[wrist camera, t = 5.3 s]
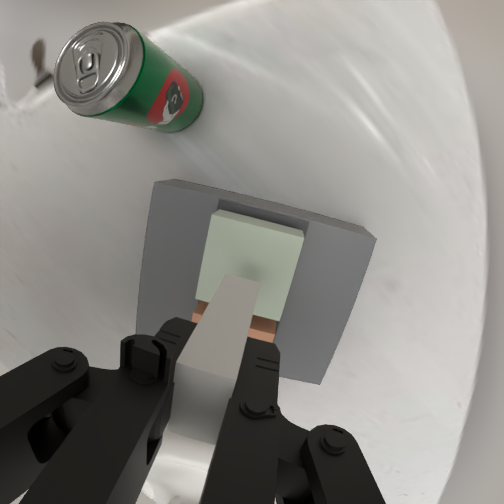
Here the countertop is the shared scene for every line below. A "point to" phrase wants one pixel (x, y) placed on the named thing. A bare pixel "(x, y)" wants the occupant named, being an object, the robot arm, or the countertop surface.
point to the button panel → (303, 283)
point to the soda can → (125, 79)
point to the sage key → (251, 258)
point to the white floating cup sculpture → (178, 470)
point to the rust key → (258, 327)
